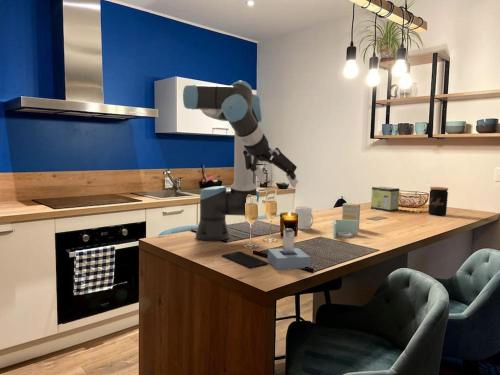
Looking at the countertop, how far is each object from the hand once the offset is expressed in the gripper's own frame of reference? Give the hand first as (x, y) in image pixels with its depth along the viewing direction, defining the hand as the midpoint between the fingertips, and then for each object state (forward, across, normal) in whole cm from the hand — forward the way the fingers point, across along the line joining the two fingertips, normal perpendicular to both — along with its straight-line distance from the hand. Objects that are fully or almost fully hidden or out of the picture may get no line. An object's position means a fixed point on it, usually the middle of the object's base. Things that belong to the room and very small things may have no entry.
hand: (279, 182), depth 136 cm
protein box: (+130, -19, +87) cm, 158 cm away
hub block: (+23, +3, -19) cm, 30 cm away
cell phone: (+18, -11, -25) cm, 32 cm away
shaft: (+23, +3, -19) cm, 30 cm away
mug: (+63, -25, +21) cm, 71 cm away
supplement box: (+76, -8, +34) cm, 84 cm away
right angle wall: (+63, -2, +20) cm, 66 cm away
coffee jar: (+135, +14, +92) cm, 164 cm away
